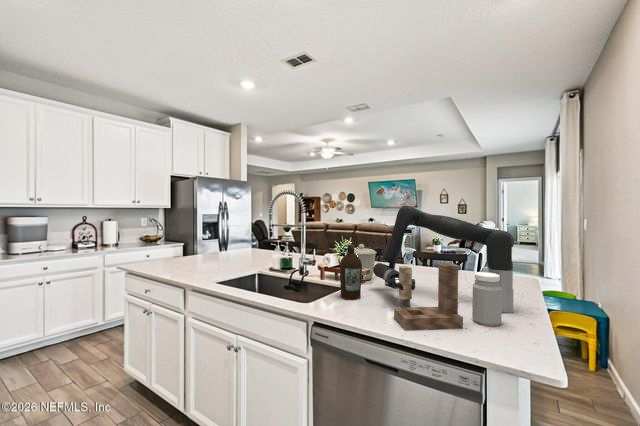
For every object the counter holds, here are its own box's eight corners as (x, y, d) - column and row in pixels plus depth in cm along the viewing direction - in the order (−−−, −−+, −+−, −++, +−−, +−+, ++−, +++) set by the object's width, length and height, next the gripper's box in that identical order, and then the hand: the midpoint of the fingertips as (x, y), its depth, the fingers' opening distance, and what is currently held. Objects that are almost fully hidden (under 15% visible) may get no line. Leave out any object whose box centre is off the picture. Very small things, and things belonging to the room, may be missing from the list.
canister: (340, 277, 191) (341, 243, 191) (365, 274, 199) (365, 242, 199) (356, 283, 175) (356, 246, 175) (382, 280, 183) (382, 245, 182)
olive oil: (337, 294, 152) (337, 243, 152) (358, 293, 154) (358, 243, 154) (342, 300, 142) (342, 246, 142) (364, 299, 143) (364, 246, 143)
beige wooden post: (407, 308, 131) (408, 266, 131) (411, 311, 127) (411, 267, 127) (398, 308, 131) (399, 266, 131) (402, 311, 127) (402, 268, 127)
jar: (475, 315, 123) (475, 270, 122) (503, 321, 116) (504, 273, 116) (468, 322, 115) (469, 274, 115) (498, 329, 109) (499, 278, 109)
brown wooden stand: (447, 316, 121) (447, 261, 121) (464, 328, 109) (464, 267, 109) (394, 318, 119) (394, 262, 119) (405, 330, 108) (405, 268, 107)
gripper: (379, 270, 143) (391, 279, 126) (409, 270, 144) (424, 278, 127) (379, 286, 143) (390, 297, 126) (408, 286, 144) (424, 296, 127)
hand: (407, 287), depth 126 cm, fingers closed on beige wooden post, 4 cm apart
